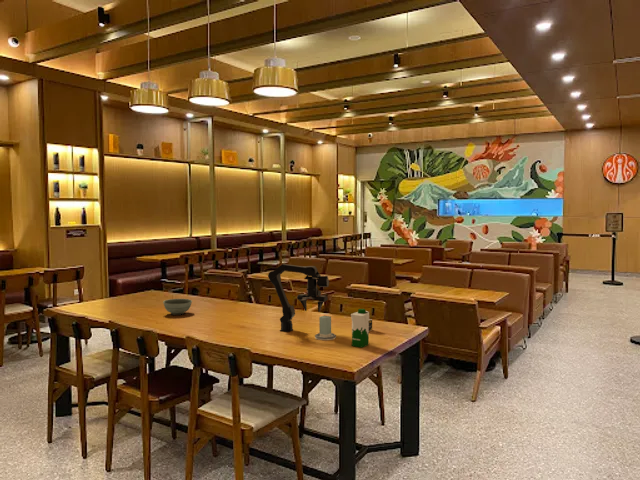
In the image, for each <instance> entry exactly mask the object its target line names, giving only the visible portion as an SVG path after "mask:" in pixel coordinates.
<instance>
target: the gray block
mask: <svg viewBox="0 0 640 480" xmlns="http://www.w3.org/2000/svg"><path fill="white" fill-rule="evenodd" d="M318 321H319V324H318V325H319V327H318V328H319V333H320V337H331V333H332V316H329V315H322V316H319V320H318Z"/></svg>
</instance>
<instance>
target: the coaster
mask: <svg viewBox="0 0 640 480" xmlns="http://www.w3.org/2000/svg"><path fill="white" fill-rule="evenodd" d="M314 338H315V340H318V341H333V340H335V339H336V338H337V335H336V334H335V333H333V332H331V337H320V332H318V333H316V334H315V335H314Z"/></svg>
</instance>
